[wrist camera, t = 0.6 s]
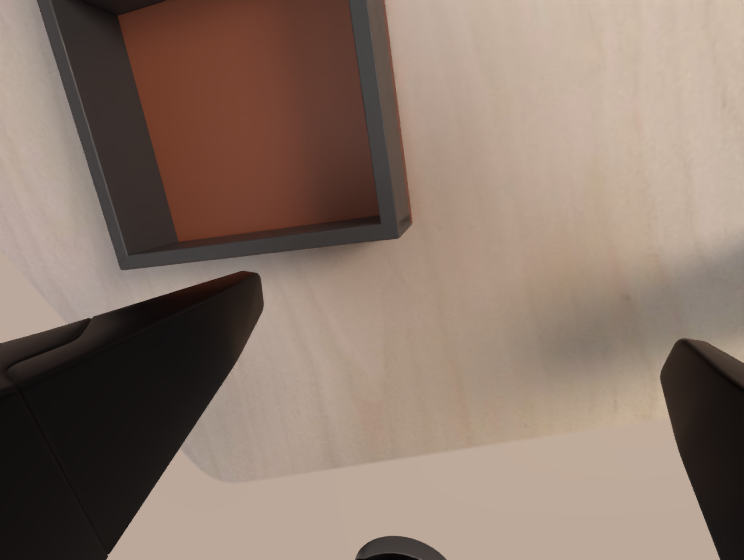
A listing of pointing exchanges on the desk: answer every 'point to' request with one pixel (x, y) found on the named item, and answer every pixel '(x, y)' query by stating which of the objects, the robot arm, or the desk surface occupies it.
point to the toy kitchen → (234, 123)
